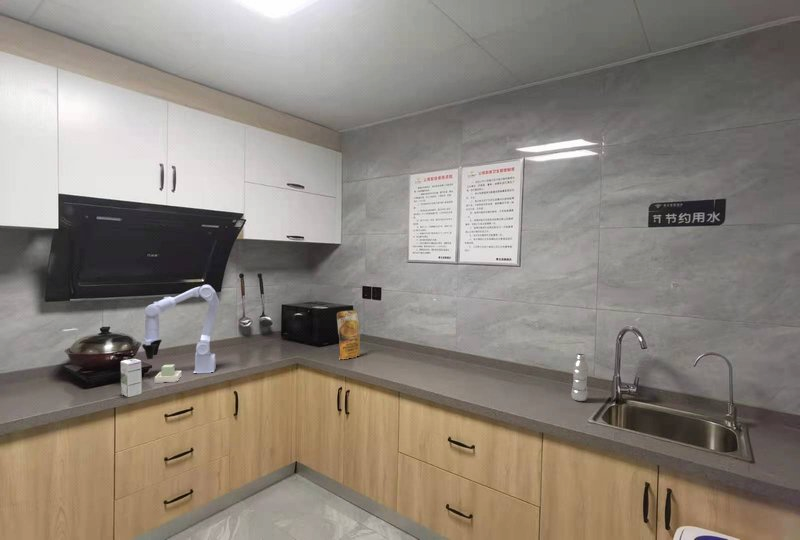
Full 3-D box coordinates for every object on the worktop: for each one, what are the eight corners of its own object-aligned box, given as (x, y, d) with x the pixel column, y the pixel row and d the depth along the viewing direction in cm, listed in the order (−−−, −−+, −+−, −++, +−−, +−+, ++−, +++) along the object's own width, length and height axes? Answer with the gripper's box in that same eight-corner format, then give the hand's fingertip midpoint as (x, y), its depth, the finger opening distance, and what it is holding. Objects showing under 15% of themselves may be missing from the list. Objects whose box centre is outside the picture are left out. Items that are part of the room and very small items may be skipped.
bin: (181, 376, 197) (181, 370, 197) (177, 382, 188) (177, 376, 188) (160, 378, 194) (160, 371, 194) (154, 383, 185) (154, 377, 185)
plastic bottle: (568, 400, 175) (570, 354, 175) (574, 396, 180) (576, 351, 179) (583, 404, 171) (585, 357, 170) (589, 400, 175) (591, 354, 175)
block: (174, 376, 194) (174, 364, 194) (172, 379, 190) (172, 366, 189) (164, 377, 193) (164, 364, 192) (161, 380, 188) (161, 367, 188)
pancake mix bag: (332, 359, 236) (333, 311, 235) (356, 354, 250) (357, 308, 249) (339, 361, 231) (340, 312, 231) (363, 355, 246) (364, 310, 245)
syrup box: (142, 393, 172) (142, 360, 172) (127, 397, 167) (127, 362, 166) (135, 391, 175) (135, 358, 174) (120, 395, 170) (120, 360, 169)
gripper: (147, 326, 202) (147, 353, 202) (138, 332, 188) (138, 361, 189) (163, 326, 204) (163, 353, 205) (155, 331, 190) (155, 360, 191)
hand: (152, 356), depth 197 cm, fingers open, 7 cm apart
